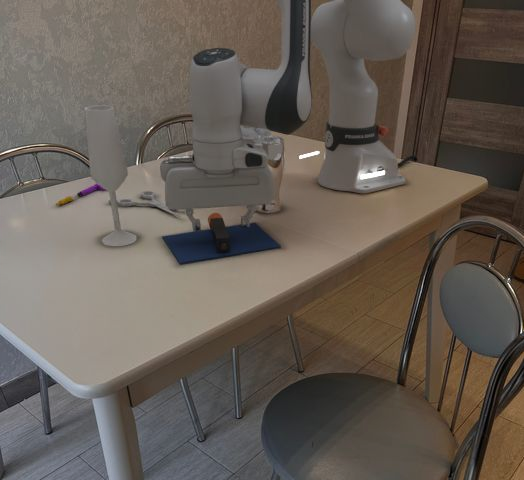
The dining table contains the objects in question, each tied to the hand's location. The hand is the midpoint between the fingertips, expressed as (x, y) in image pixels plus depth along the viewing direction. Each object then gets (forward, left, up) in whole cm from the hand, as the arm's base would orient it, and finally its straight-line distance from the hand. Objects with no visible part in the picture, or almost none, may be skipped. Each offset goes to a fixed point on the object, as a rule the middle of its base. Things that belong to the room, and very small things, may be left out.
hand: (221, 228), depth 102 cm
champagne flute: (+18, -9, -3) cm, 21 cm away
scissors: (+7, -24, -3) cm, 25 cm away
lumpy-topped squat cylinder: (-28, -53, -3) cm, 60 cm away
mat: (0, 0, -3) cm, 3 cm away
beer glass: (-16, -14, -3) cm, 21 cm away
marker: (0, 0, -3) cm, 3 cm away
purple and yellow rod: (+21, -37, -3) cm, 43 cm away
